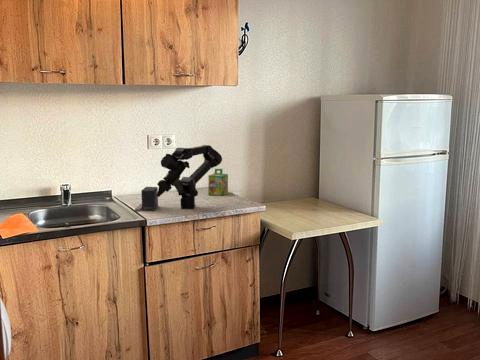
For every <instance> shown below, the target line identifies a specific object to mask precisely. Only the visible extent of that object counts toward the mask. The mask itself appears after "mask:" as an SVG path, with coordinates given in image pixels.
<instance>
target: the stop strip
mask: <svg viewBox="0 0 480 360" xmlns="http://www.w3.org/2000/svg"><path fill="white" fill-rule="evenodd" d="M134 212H142V203H140V204H138V206H136V208H135V209H134Z"/></svg>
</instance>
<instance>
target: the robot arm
mask: <svg viewBox="0 0 480 360" xmlns="http://www.w3.org/2000/svg"><path fill="white" fill-rule="evenodd" d="M198 155H202V157H203V159H204V161H203V163H202V164H201V165H199V167H197V168H196V169H195V171H194V172H192V173H191V174H190V175H189V176H182V177H181V175H182V174H183V172H184V171H185V170H186V168H187V169H190V163H189V161H187V160H189V159H191V158H193V157H194V156H198ZM222 162H223V157H222V155H221V153H219V152H218V151H217V150H215V148H213V147H212V146H211V145H207V144H202V145H200V146H194V147H189V148H188V147H176V148H175V150H174V151H173V152H172V153H165V156H163V157H162V158H161V160H160V166H161V167H162V168H165V169H168V171H167V173H166V175H165V176H164V177H163V178H162V179H160V180H159V181H158V182H157V183H156V185H157V186H158V194H157V196H158V198H159V197H160V196H162V195H164V193H165V192H167V193H168V192H169V191H171V190H172V189H173V187H174V189H176V192H177V194H178V196H181V198H180V208H181V210H184V209H187V210H188V209H189V210H193V209H195V208H196V201H195V199H196V197H197V196H198V195H199V194H198V193H199V191H198V190H197V189H196V186H197V183H198V182H199V181H201V179H202V178H203V177H204V176H205V175H206V174H207V173H208V172H209V171H210V170H211V169H213V168H215V167H216V168H217V166H219V165H220V164H222Z"/></svg>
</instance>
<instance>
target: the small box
mask: <svg viewBox="0 0 480 360" xmlns="http://www.w3.org/2000/svg"><path fill="white" fill-rule="evenodd" d="M158 189H159V186H158V187H157V186H145V187H144V188H143V189H141V204H142V210H141V212H143V211H144V212H151V211H152V212H154V211H155V210H156V209H157V208H158V207H159V197H158V196H157V194H158Z"/></svg>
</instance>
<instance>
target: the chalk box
mask: <svg viewBox="0 0 480 360" xmlns="http://www.w3.org/2000/svg"><path fill="white" fill-rule="evenodd" d="M223 170H224V169H223V168H215V169H214V173H211V174H208V188H207V189H208V196H218V197H224V196H225V195H228V193H229V174H228V173H223ZM218 171H219V172H218Z"/></svg>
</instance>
